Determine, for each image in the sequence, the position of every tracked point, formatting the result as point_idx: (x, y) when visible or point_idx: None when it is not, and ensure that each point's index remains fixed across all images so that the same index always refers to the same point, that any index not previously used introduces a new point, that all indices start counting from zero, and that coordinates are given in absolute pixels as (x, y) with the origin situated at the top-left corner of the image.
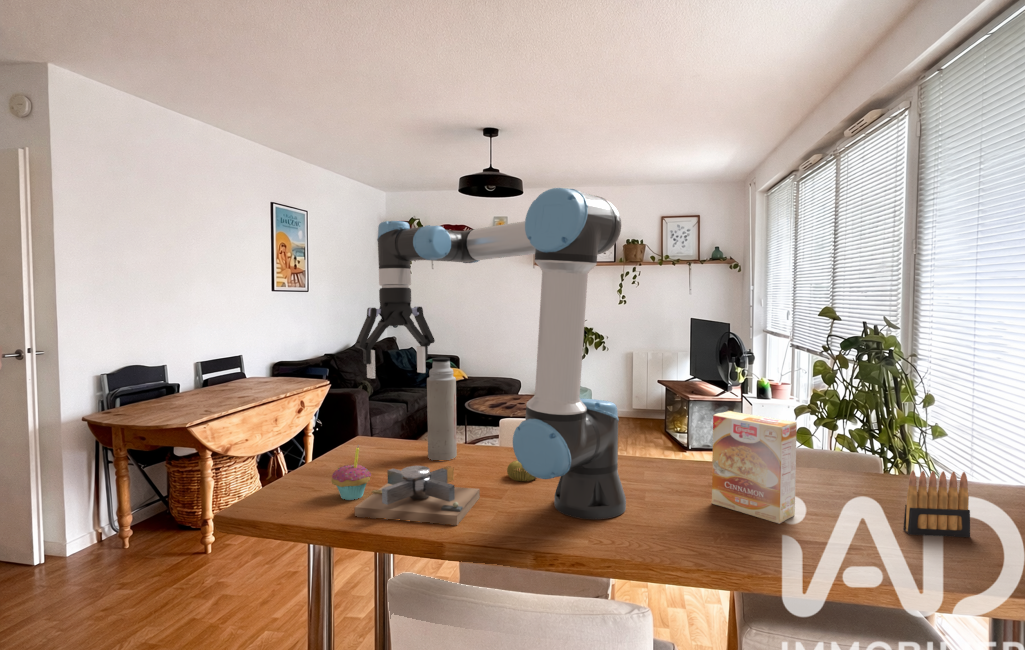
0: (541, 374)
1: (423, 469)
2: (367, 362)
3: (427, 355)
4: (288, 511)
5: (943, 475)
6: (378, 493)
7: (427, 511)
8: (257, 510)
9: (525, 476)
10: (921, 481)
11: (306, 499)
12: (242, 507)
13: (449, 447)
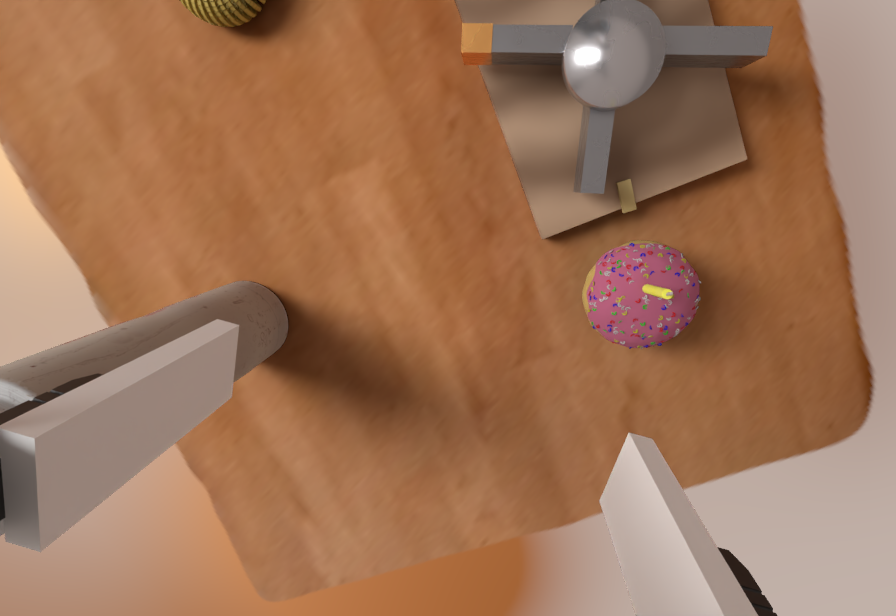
0: None
1: (596, 32)
2: (733, 562)
3: (64, 386)
4: (779, 329)
5: None
6: (631, 187)
7: None
8: (806, 393)
9: None
10: None
11: (694, 359)
12: (806, 436)
13: (235, 291)
